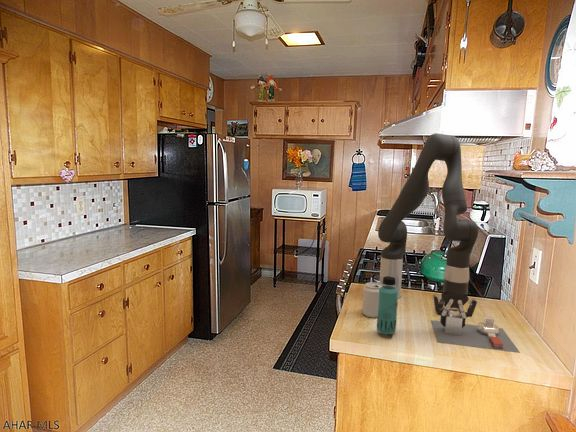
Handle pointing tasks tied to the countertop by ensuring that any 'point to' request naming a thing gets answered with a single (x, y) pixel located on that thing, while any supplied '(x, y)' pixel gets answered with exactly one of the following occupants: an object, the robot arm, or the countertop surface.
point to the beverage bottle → (387, 307)
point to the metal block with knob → (453, 322)
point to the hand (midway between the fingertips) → (452, 326)
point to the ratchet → (490, 332)
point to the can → (371, 299)
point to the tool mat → (472, 338)
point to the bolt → (441, 304)
